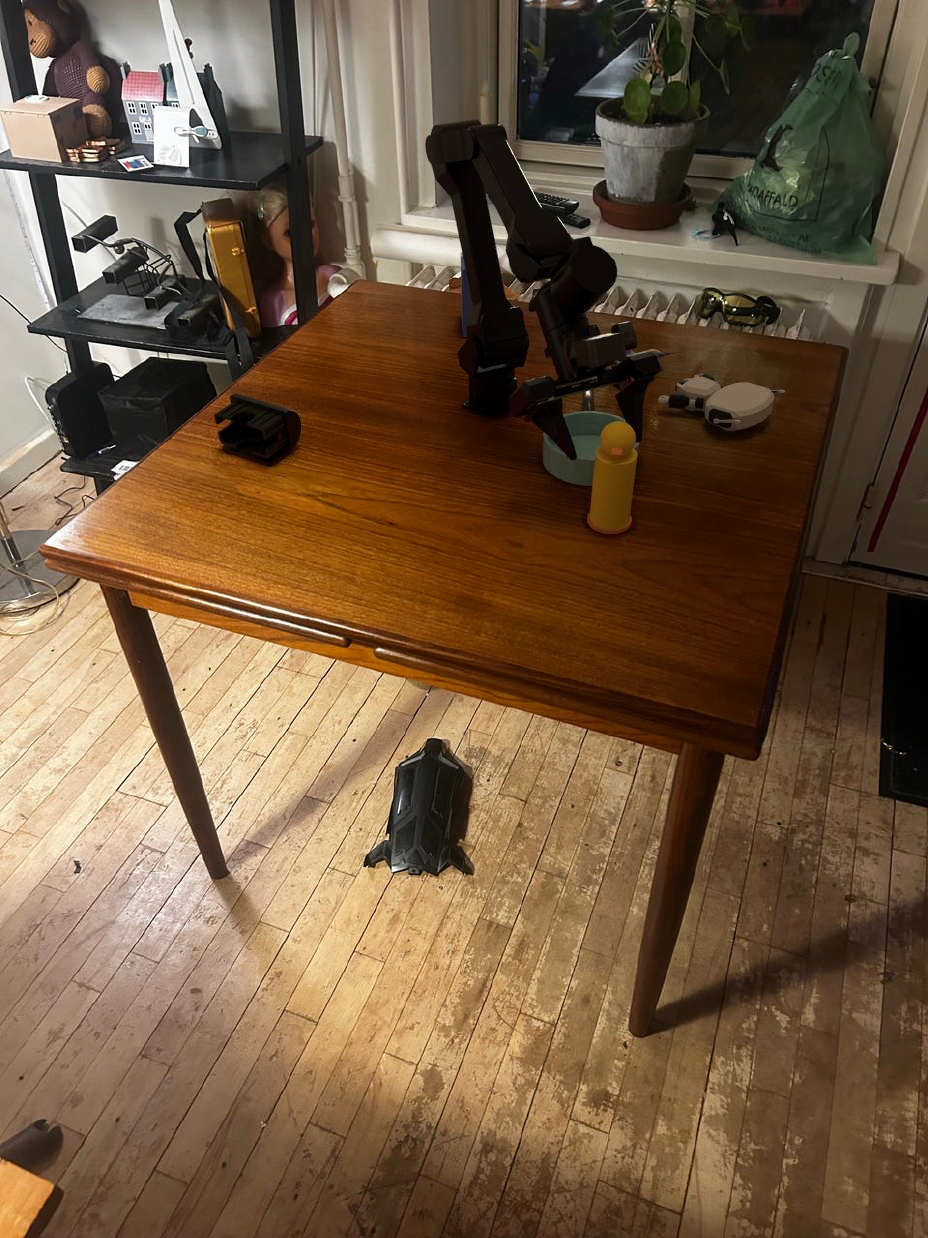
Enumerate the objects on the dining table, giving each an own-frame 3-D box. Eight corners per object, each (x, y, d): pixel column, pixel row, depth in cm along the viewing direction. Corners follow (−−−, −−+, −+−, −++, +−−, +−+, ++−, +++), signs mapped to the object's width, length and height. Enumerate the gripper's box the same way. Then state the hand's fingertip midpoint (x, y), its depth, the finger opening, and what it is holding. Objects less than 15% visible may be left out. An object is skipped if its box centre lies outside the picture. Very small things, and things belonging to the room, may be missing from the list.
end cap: (305, 444, 133) (299, 402, 129) (273, 468, 129) (266, 425, 124) (251, 427, 137) (243, 385, 132) (219, 450, 132) (209, 407, 128)
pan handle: (594, 423, 132) (595, 413, 131) (583, 423, 132) (584, 413, 131) (592, 389, 139) (593, 379, 138) (581, 389, 140) (582, 379, 138)
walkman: (478, 336, 159) (478, 266, 151) (462, 337, 159) (461, 267, 151) (477, 317, 165) (476, 249, 157) (461, 318, 165) (460, 249, 157)
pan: (525, 467, 127) (525, 442, 125) (571, 427, 135) (572, 402, 133) (609, 496, 122) (612, 470, 119) (652, 452, 130) (656, 427, 127)
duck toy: (588, 506, 120) (597, 410, 111) (632, 510, 119) (644, 413, 110) (585, 535, 116) (593, 436, 106) (630, 539, 115) (642, 440, 106)
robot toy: (651, 418, 138) (739, 447, 130) (652, 390, 136) (743, 418, 127) (697, 389, 145) (785, 415, 136) (700, 362, 142) (789, 386, 133)
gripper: (521, 316, 103) (566, 449, 102) (663, 285, 108) (705, 411, 108) (490, 355, 113) (530, 475, 113) (621, 325, 119) (659, 440, 119)
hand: (607, 450), depth 113 cm, fingers open, 9 cm apart
